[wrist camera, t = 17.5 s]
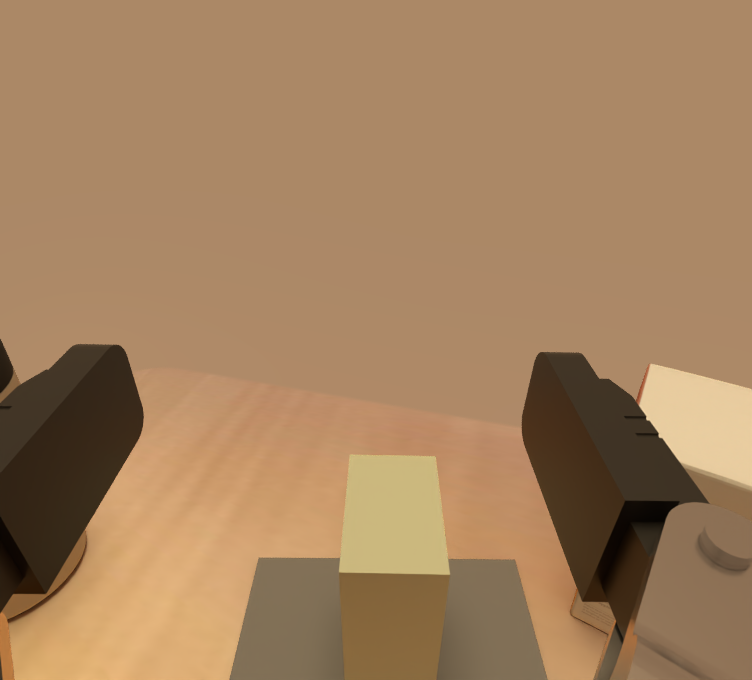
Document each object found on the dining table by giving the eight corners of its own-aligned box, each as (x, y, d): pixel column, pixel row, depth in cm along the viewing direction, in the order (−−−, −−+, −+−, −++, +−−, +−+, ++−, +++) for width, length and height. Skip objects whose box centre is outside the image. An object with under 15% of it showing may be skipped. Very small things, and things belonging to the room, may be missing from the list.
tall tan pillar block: (346, 716, 23) (338, 572, 17) (354, 595, 28) (349, 454, 23) (430, 719, 23) (450, 574, 17) (422, 597, 28) (435, 456, 23)
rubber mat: (205, 789, 21) (203, 786, 21) (259, 561, 31) (258, 557, 30) (575, 793, 21) (577, 789, 21) (514, 563, 30) (515, 559, 30)
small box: (594, 518, 34) (648, 359, 27) (700, 562, 31) (789, 396, 24) (565, 616, 28) (625, 443, 21) (692, 683, 25) (808, 506, 18)
